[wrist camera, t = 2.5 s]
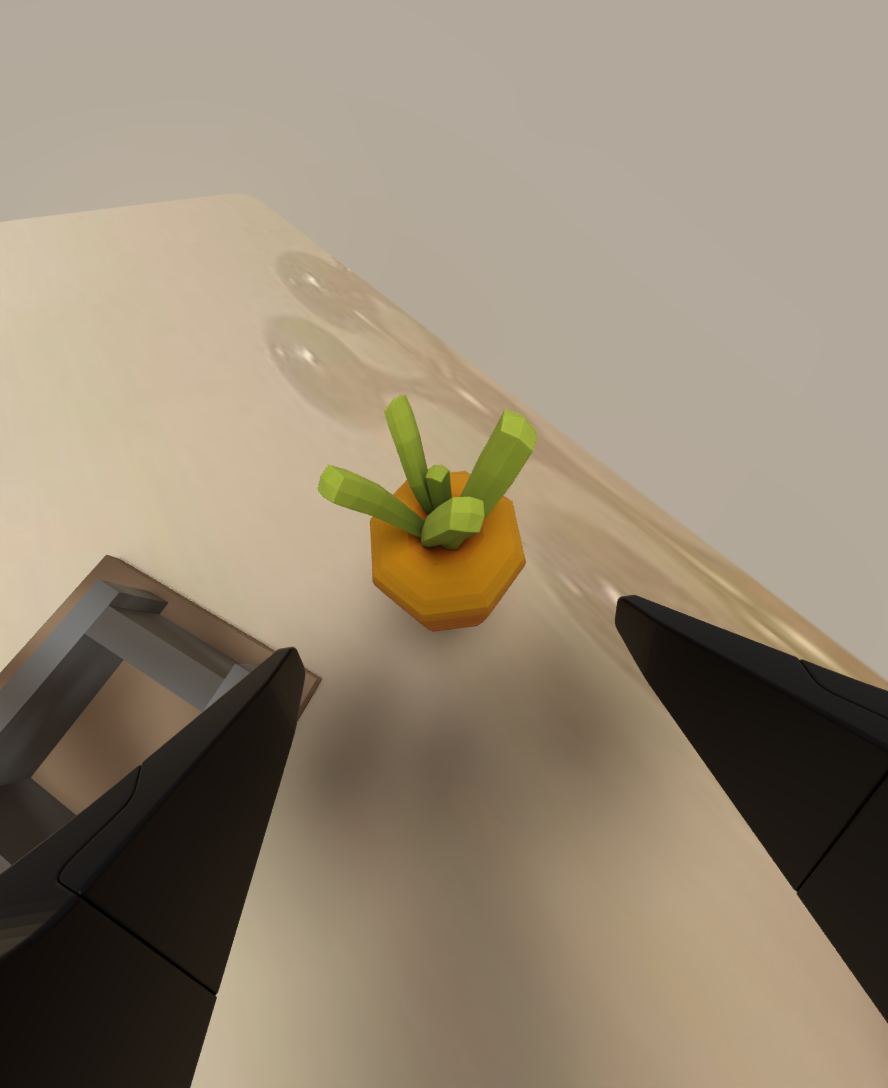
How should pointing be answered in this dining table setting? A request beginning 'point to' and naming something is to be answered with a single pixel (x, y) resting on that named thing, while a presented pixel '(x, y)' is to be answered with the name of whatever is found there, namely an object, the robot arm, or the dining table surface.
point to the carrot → (442, 523)
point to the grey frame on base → (107, 695)
